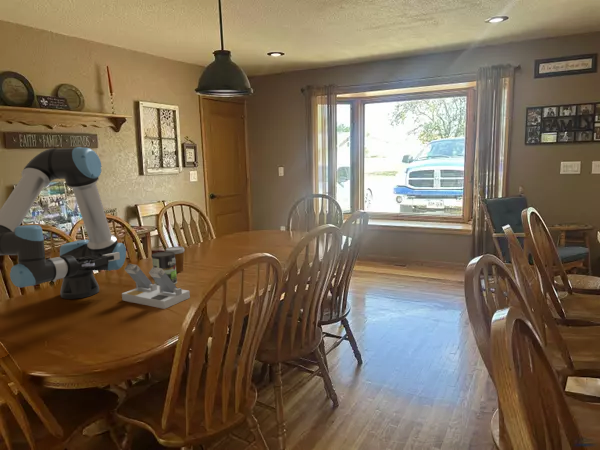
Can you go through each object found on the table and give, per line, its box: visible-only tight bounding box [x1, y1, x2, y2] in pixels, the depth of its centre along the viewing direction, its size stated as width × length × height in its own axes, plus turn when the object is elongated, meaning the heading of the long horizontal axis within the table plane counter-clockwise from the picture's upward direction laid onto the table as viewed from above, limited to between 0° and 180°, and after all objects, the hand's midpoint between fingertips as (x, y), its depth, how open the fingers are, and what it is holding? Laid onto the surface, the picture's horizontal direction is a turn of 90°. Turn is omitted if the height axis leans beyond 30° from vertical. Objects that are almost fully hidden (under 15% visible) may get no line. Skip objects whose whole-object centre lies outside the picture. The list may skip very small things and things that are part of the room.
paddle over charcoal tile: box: [148, 266, 178, 293], centre depth 173 cm, size 7×3×13 cm
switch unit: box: [121, 282, 191, 310], centre depth 179 cm, size 24×14×5 cm, turn 61°
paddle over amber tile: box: [124, 263, 154, 289], centre depth 180 cm, size 7×3×13 cm
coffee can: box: [151, 251, 178, 286], centre depth 200 cm, size 10×10×14 cm
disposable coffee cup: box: [164, 245, 185, 274], centre depth 220 cm, size 10×10×12 cm
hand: (118, 255), depth 171 cm, fingers closed
